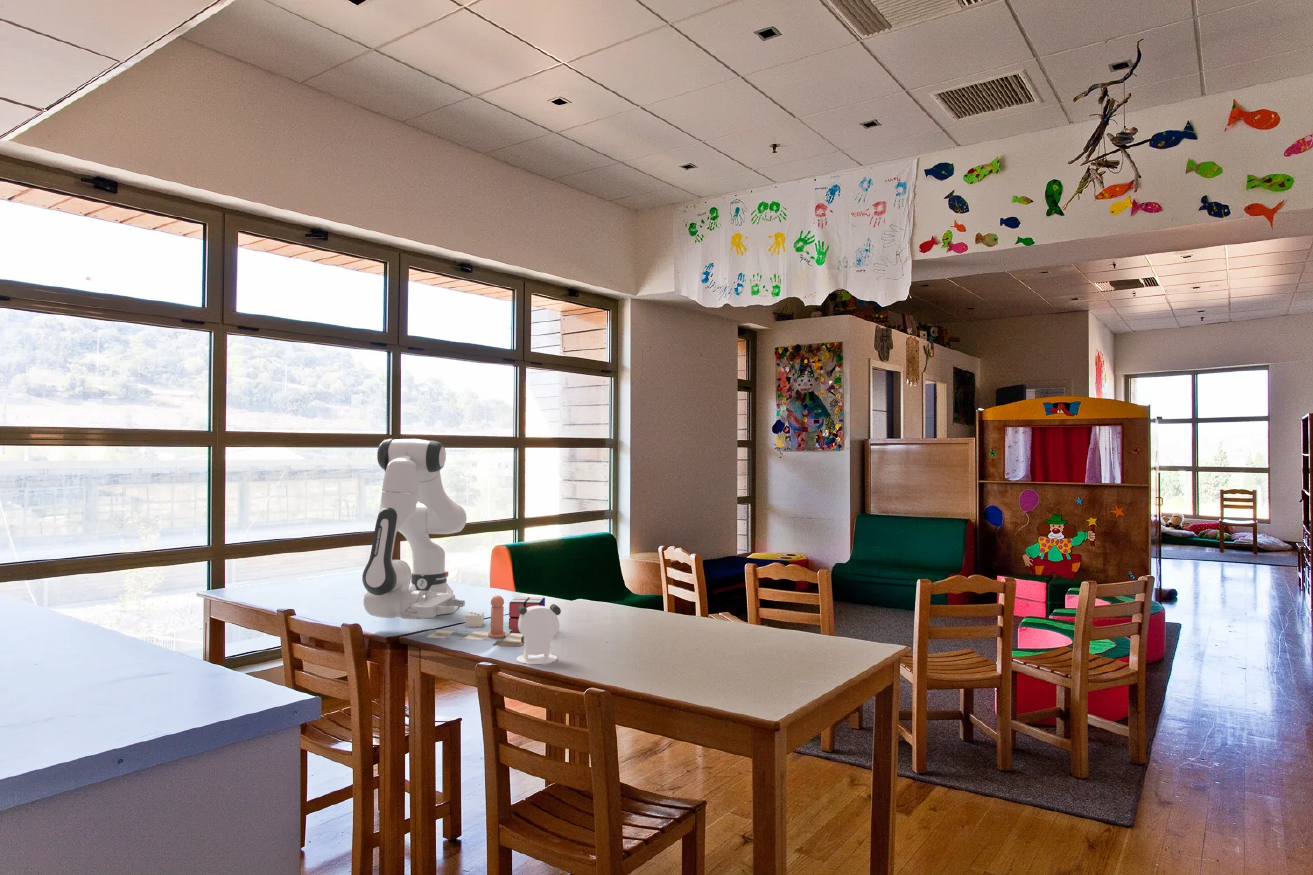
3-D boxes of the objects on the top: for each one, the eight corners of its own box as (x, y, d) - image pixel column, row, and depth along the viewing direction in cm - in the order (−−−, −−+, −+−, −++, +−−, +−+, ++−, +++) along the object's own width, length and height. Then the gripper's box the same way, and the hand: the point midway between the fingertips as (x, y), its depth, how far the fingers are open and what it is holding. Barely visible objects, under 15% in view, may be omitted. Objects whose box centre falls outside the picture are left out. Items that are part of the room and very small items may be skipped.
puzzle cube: (539, 633, 258) (540, 602, 258) (508, 633, 258) (509, 601, 258) (544, 626, 268) (545, 596, 268) (514, 626, 268) (515, 596, 268)
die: (468, 627, 265) (468, 611, 265) (483, 627, 265) (483, 612, 265) (465, 630, 260) (465, 615, 260) (481, 631, 260) (481, 615, 260)
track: (438, 633, 255) (438, 629, 255) (530, 637, 252) (530, 633, 252) (424, 641, 244) (424, 637, 244) (520, 646, 241) (520, 641, 241)
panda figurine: (553, 652, 234) (554, 601, 234) (563, 662, 223) (564, 608, 224) (512, 655, 230) (513, 603, 230) (520, 666, 219) (521, 611, 219)
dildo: (491, 633, 250) (492, 593, 250) (507, 634, 250) (508, 594, 250) (485, 637, 245) (486, 596, 245) (502, 638, 245) (503, 597, 245)
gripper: (402, 601, 241) (446, 603, 239) (429, 588, 261) (470, 590, 259) (401, 622, 241) (446, 624, 239) (428, 608, 261) (469, 609, 259)
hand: (458, 606), depth 249 cm, fingers open, 8 cm apart
